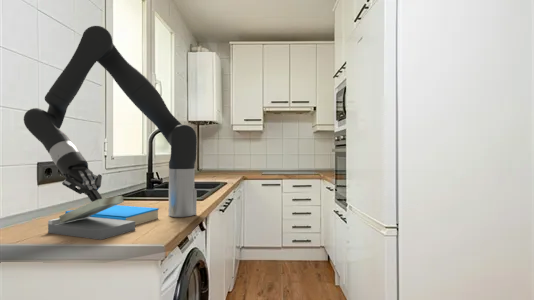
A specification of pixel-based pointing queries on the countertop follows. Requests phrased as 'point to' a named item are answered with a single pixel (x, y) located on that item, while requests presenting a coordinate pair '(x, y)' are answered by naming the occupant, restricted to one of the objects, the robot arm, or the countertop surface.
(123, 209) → the book
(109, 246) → the countertop surface
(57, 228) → the board
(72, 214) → the silver flat block
